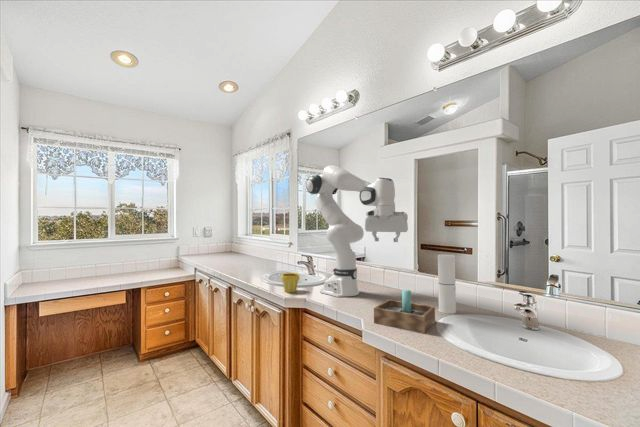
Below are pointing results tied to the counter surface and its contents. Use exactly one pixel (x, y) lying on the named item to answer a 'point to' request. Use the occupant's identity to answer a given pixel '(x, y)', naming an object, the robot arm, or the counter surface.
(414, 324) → the box
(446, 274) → the cylindrical container
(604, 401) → the counter surface
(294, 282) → the plant pot
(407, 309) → the peg
